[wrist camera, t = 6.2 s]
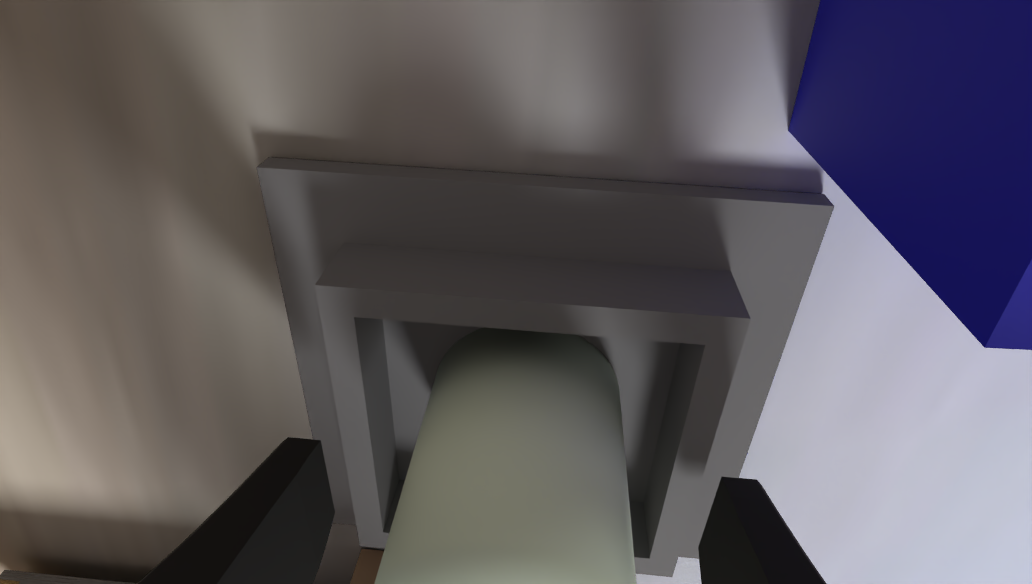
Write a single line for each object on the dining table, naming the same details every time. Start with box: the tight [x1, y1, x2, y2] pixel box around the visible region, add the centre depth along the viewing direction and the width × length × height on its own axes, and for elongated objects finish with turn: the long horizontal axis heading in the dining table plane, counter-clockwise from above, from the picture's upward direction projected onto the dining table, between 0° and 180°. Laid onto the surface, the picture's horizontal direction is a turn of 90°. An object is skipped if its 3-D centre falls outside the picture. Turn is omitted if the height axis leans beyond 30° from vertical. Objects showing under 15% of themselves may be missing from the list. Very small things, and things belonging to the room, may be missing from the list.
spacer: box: [374, 327, 636, 584], centre depth 11 cm, size 4×4×5 cm
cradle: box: [257, 157, 834, 577], centre depth 13 cm, size 10×10×2 cm
